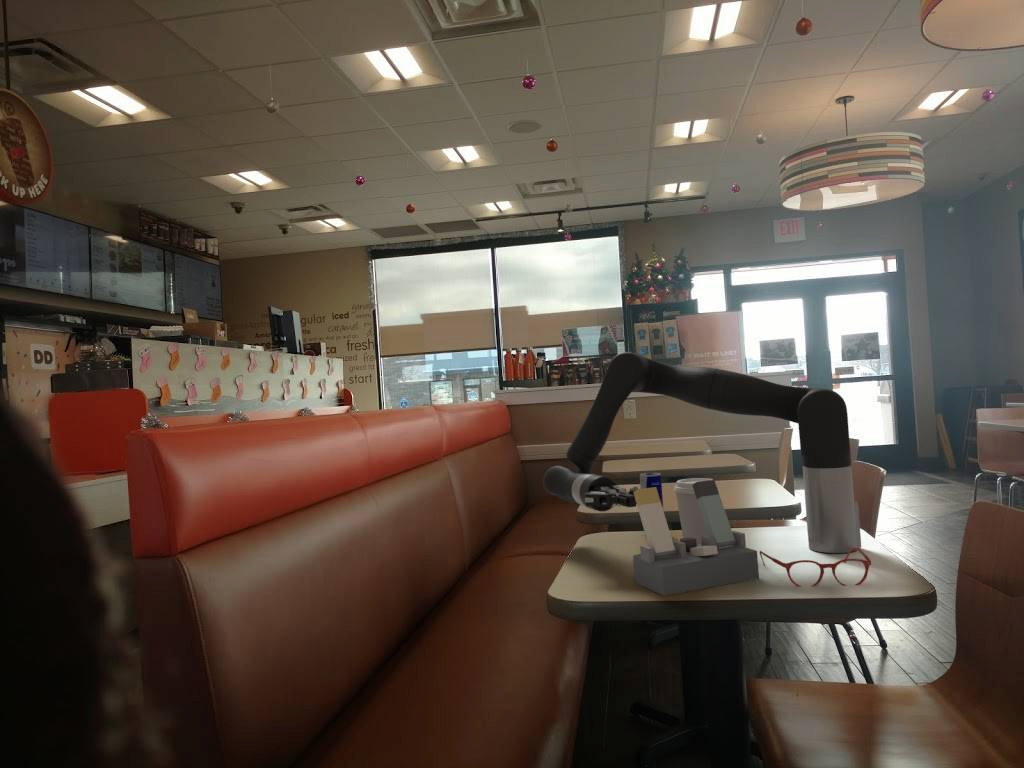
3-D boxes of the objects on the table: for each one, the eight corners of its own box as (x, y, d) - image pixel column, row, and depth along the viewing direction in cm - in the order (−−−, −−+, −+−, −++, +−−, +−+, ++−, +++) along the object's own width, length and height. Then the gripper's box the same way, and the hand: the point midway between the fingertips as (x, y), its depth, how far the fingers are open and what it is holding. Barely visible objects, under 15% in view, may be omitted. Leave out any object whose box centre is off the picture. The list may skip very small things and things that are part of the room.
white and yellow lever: (673, 555, 123) (653, 489, 128) (678, 553, 122) (657, 486, 127) (650, 559, 122) (631, 492, 127) (655, 557, 120) (635, 489, 125)
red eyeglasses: (777, 591, 116) (775, 561, 116) (757, 566, 132) (755, 541, 132) (884, 588, 113) (882, 558, 113) (850, 563, 129) (848, 537, 129)
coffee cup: (721, 544, 150) (716, 476, 150) (724, 554, 141) (719, 483, 141) (677, 544, 152) (673, 478, 152) (677, 555, 143) (672, 484, 143)
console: (726, 565, 132) (723, 527, 132) (760, 577, 122) (757, 536, 123) (633, 582, 125) (630, 542, 125) (662, 596, 116) (659, 552, 116)
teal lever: (732, 545, 127) (711, 482, 133) (738, 543, 126) (715, 479, 131) (711, 549, 126) (690, 485, 131) (716, 547, 124) (694, 482, 129)
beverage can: (661, 537, 161) (656, 474, 161) (641, 536, 163) (636, 474, 164) (667, 532, 165) (663, 471, 165) (647, 531, 168) (643, 471, 168)
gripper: (565, 477, 146) (601, 486, 129) (619, 471, 150) (660, 478, 134) (567, 512, 146) (604, 525, 129) (622, 505, 150) (663, 516, 134)
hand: (632, 501), depth 131 cm, fingers closed
